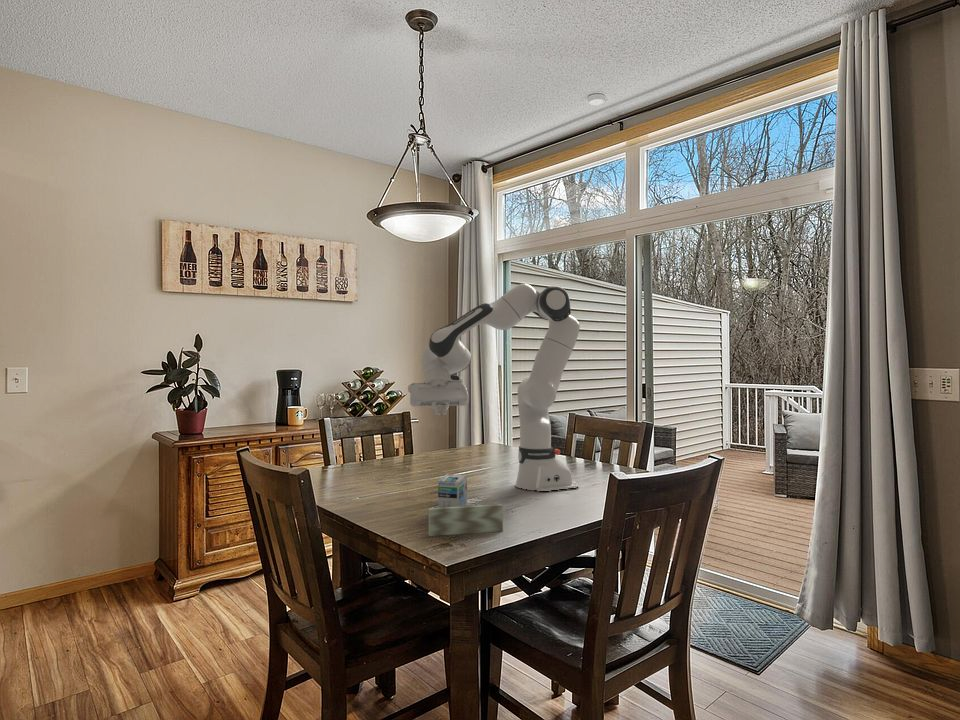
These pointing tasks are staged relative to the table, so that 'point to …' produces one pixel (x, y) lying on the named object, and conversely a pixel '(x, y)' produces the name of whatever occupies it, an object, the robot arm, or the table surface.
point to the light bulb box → (452, 490)
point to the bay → (465, 519)
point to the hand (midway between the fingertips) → (441, 413)
